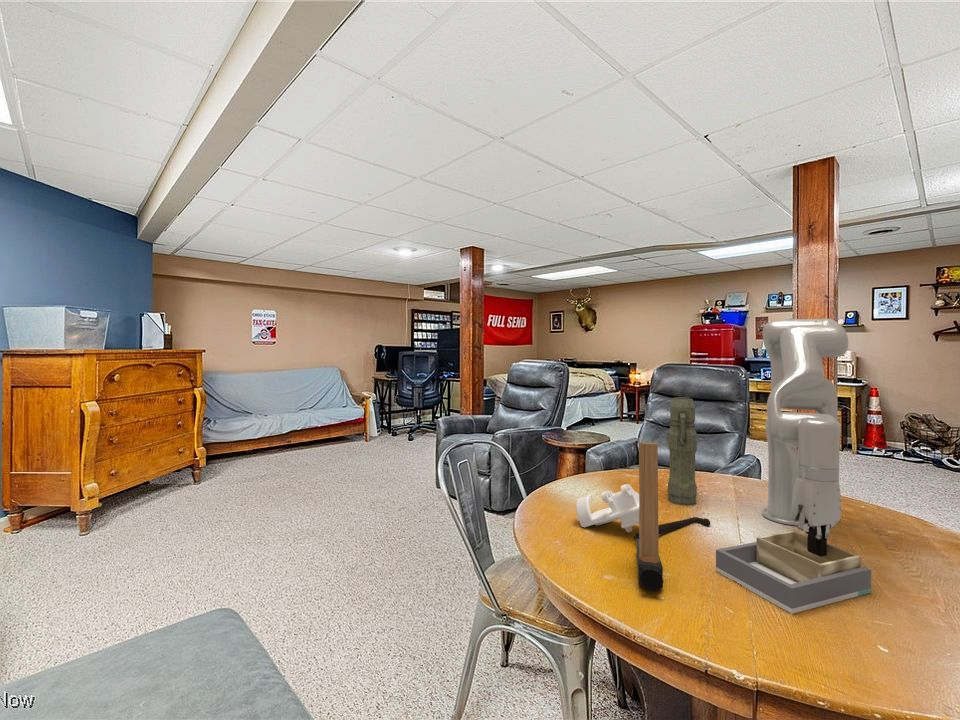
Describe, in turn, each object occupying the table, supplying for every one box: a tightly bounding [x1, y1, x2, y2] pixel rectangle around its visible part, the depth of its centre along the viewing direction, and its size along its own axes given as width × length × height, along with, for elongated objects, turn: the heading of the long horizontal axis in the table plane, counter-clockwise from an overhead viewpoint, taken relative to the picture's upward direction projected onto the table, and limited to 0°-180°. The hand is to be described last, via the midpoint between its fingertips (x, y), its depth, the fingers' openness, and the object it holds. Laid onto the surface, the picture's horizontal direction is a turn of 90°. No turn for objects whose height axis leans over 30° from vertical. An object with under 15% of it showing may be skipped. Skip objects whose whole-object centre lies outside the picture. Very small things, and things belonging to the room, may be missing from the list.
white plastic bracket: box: [575, 483, 639, 533], centre depth 129 cm, size 20×11×13 cm, turn 53°
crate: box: [756, 530, 862, 582], centre depth 101 cm, size 12×15×6 cm
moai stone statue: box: [667, 396, 698, 506], centre depth 152 cm, size 9×12×35 cm
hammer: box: [635, 441, 664, 592], centre depth 105 cm, size 20×5×30 cm, turn 162°
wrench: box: [633, 516, 711, 540], centre depth 125 cm, size 5×5×30 cm
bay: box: [715, 541, 872, 615], centre depth 100 cm, size 23×18×5 cm
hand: (816, 553), depth 102 cm, fingers closed
